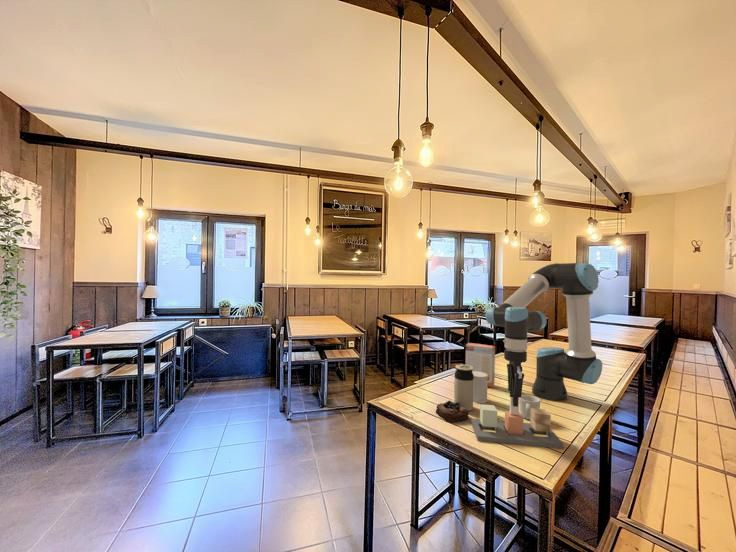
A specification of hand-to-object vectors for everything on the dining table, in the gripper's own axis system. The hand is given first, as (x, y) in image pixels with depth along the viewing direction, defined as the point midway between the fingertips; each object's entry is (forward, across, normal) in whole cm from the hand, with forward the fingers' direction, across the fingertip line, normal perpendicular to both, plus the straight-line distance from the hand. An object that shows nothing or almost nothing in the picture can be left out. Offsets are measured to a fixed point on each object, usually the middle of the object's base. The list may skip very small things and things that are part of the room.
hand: (514, 413), depth 119 cm
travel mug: (+8, -21, -15) cm, 27 cm away
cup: (+8, -15, +10) cm, 20 cm away
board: (+8, 0, 0) cm, 8 cm away
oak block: (+4, 0, +9) cm, 10 cm away
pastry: (+8, -12, -21) cm, 25 cm away
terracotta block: (+6, 0, 0) cm, 6 cm away
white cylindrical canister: (+8, -32, -7) cm, 34 cm away
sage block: (+4, 0, -9) cm, 10 cm away
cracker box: (+8, -55, -2) cm, 56 cm away
